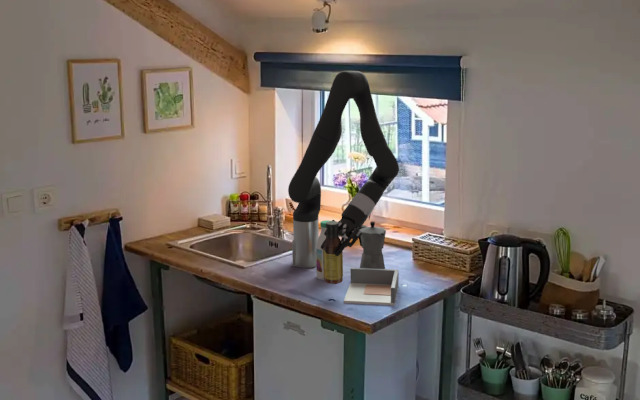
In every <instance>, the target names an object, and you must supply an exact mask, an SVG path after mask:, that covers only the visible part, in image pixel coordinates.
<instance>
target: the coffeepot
mask: <svg viewBox="0 0 640 400" xmlns="http://www.w3.org/2000/svg"><path fill="white" fill-rule="evenodd" d="M375 224H376V222H375V221H370V226H367V225H364V224H363V225H362V226H361V228H358V229H359V230H360V231H361V233H362V235H361V236H360V237H359V238H358V241H359V245H360V247H361V248H362V253H361V259H360V265H359V268H371V269H386V267H385V258H384V254H383V249H384V246H385V238H386V233H387V230H386V229H385V228H383V227H378V226H375Z"/></svg>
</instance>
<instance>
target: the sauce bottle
mask: <svg viewBox="0 0 640 400" xmlns="http://www.w3.org/2000/svg"><path fill="white" fill-rule="evenodd" d="M338 227H339V223H338V221H336V220H335V221H332V220H329V222H326V228H327V234H326V239H325V242H324V245H323V266H324V280H323V281H324V282H325V283H327V284H329V285H330V284H331V285H337V284H341V283H342V282H343V281H344V280H343V277H344V261H343V257H344V255H343V251H344V250H343V251H342V252H341V254H340V255H339V256H336V255H335V254H334V253H333V251H334V250H335V248H336V247H337V246H338V244H339V243H340V242H341V237H338V235H339V234H338ZM340 244H341V243H340Z"/></svg>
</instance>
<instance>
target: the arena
mask: <svg viewBox="0 0 640 400" xmlns="http://www.w3.org/2000/svg"><path fill="white" fill-rule="evenodd" d="M399 272H400V271H399V269H392V268H389V269H388V268H385V269H371V268H360V267H350V282H349V286H348V287H347V288H348V289H347V291H346V295H345V297H344V299H343V304H355V305H357V304H358V305H359V304H360V305H373V306H374V305H376V306H378V305H379V306H395V305H396V302H397V301H396V299H397V295H398V290H399V280H400V278H399V275H400V273H399Z"/></svg>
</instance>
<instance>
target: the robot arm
mask: <svg viewBox="0 0 640 400" xmlns="http://www.w3.org/2000/svg"><path fill="white" fill-rule="evenodd" d="M327 96H328V97H327V100H326V103H325V105H324V108H323V110H322V112H321V116H320V118H319V120H318V122H317V124H316V126H315V129H314V131H313V133H312V135H311V138H310V141H309V144H308V146H307V148H306V150H305V152H304V154H303V157H302V159H301V161H300V164H299V165H298V168H297V169H296V171H295V173H294V175H293V176H292V177H291V180H290V182H289V185H288V189H287V192H288V196H289V198H290V200H291V201H292V202H294V203H295V204H297V207H295V209H294V211H293V213H292V227H293V228H292V229H293V230H292V233H293V234H292V235H293V238H292V241H291V242H292V243H291V246H292V247H291V249H292V250H291V251H292V254H291V255H292V266H293V267H297V268H302V269H309V268H316V267H317V266H316V246H317V241H318V238H319V236H320V233H319V231H320V230H319V214H320V211H321V204H322V203H321V202H322V200H321V199H322V198H321V197H322V187H321V183H320V180H319V179H318V178H317V175H318V173H319V172H320V170H321V169H322V168H323V167H324V166H325V164H326V163H327V162H328V161H329V159H330V158H331V157H332V155H333V154H334V153H335V151H336V149H337V146H338V145H339V142H340V141H341V137H342V133H343V127H342V126H343V125H342V124H343V123H342V116H343V114H344V113H343V112H344V110H345V109H346V106H347V104H348V102H349V100H351V99H353V101H354V103H355V105H356V107H357V109H358V112H359V131H360V132H359V133H360V137H361V139H362V142H363V144H364V147H365V149H366V151H367V153H368V155H369V156H370V157H372V159H373V161H374V162H375V165H376V167H375V168H374V170H373V171H372V173H371V174H370V175H369V178H368V179H367V181H365V182H364V184H363V185H362V186H361V187H360V189H359V190H358V192H356V194H355V195H354V196H353V198H351V201H349V203H348V205H347V206H346V207H345V208H344V210H343V212H342V213H341V218H340V220H338V221H337V222H338V223H339V227H338V234H339V235H338V237H339V238H340V240H341V242H340V243H341V244H340V243H339V244H338V246H337V247H336V248H335V250H334V251H333V253H334V254H335V255H336V256H339V255H340V254H341V252H342V251H344V250H345V248H348V247H349V248H352V247H353V246H354V245H355V243H356V242H357V241H359V237H360V236H361V235H362V233H361V231H360V230H359V229H358V228H361V226H362V225H364V224H365V222H366V221H367V220H368V218H369V217H370V215H371V213H372V212H373V210H374V209H375V207H376V205H377V204H378V202H379V201H380V199H381V198H382V196H383V195H384V192H385V191H386V190H387V188H388V187H389V186H390V184H391V183H393V181H394V179H395V178H396V177H397V176H398V175H399V172H400V167H399V163H398V161H397V157H396V156H395V155H394V152H393V151H392V149H390V147H389V146H388V143H387V142H388V141H387V140H386V138H385V135H384V132H383V130H382V128H381V125H380V123H379V120H378V116H377V112H376V109H375V104H374V99H373V95H372V91H371V88H370V83H369V81H368V78H367V77H366V75H365V74H364V73H363V72H362V71H358V70H342V71H339V73H337V75H336V76H334V79H333V81H332V83H331V86H330V91H329V93H328V95H327ZM331 221H336V220H335V219H332V220H331ZM326 234H327V229H326V231H325V233H324V235H325V236H326ZM324 242H325V240H324ZM324 242H323V243H322V245H321V249H322V250H323V245H324Z"/></svg>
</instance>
